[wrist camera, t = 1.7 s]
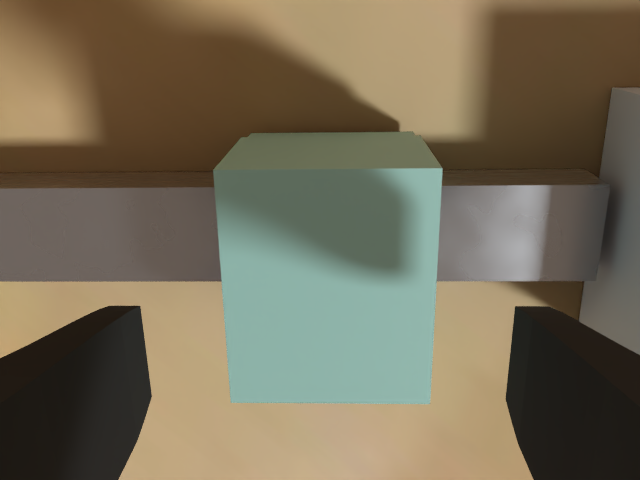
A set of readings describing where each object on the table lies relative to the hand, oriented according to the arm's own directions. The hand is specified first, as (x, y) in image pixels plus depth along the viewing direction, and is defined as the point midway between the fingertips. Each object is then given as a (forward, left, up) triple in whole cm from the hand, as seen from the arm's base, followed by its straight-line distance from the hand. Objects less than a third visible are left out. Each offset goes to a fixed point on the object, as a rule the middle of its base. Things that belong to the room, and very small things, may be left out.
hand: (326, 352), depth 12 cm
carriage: (0, 0, -9) cm, 9 cm away
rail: (0, +3, -9) cm, 9 cm away
